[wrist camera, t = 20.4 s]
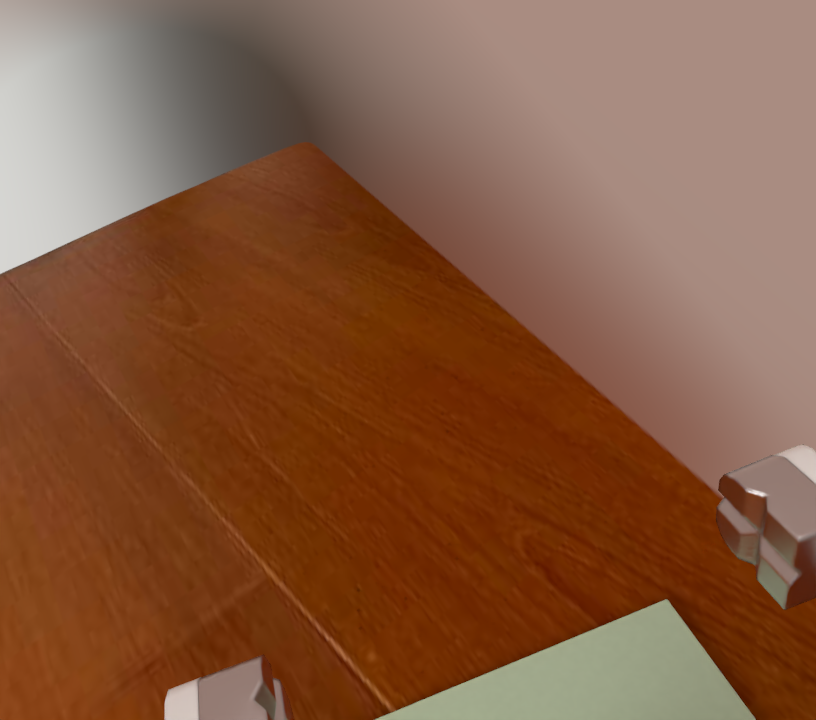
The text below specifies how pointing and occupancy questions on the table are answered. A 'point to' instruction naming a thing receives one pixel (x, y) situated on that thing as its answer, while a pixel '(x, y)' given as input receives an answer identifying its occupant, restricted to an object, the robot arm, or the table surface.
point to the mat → (599, 679)
